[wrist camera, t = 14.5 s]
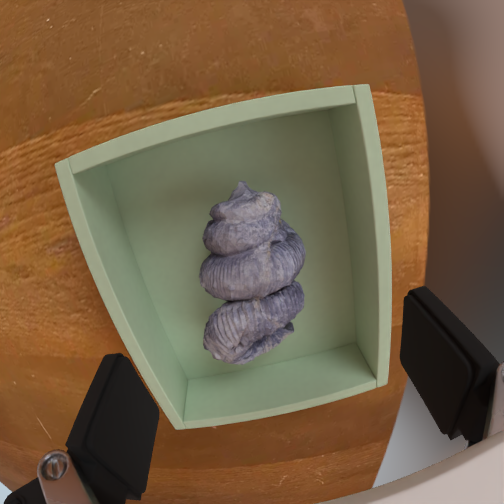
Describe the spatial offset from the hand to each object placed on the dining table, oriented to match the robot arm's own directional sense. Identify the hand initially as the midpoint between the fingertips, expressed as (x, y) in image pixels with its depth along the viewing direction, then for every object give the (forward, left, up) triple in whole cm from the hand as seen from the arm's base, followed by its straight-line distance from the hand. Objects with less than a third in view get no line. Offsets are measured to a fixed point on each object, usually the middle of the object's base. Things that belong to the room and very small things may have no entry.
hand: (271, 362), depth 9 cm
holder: (0, 0, -9) cm, 9 cm away
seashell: (0, 0, -9) cm, 9 cm away
